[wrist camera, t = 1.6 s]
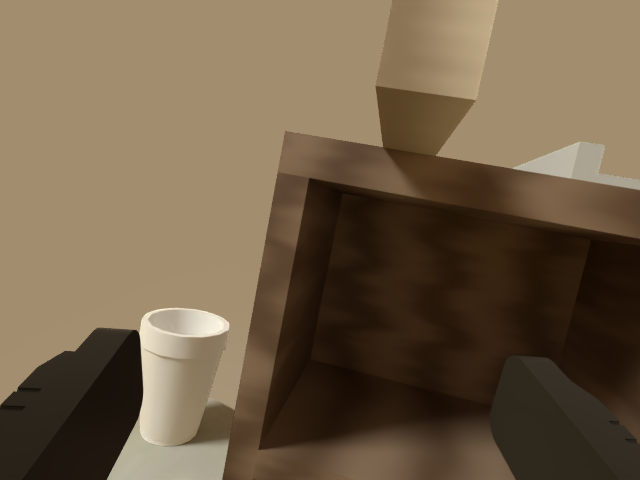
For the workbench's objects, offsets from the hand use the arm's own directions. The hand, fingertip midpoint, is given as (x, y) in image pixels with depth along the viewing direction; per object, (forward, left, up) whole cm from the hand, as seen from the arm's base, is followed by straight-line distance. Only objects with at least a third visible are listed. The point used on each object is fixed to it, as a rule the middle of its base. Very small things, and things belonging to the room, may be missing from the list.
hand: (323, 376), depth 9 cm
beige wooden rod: (+1, +15, +7) cm, 16 cm away
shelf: (+6, +18, -25) cm, 32 cm away
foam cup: (-19, +33, -25) cm, 46 cm away
